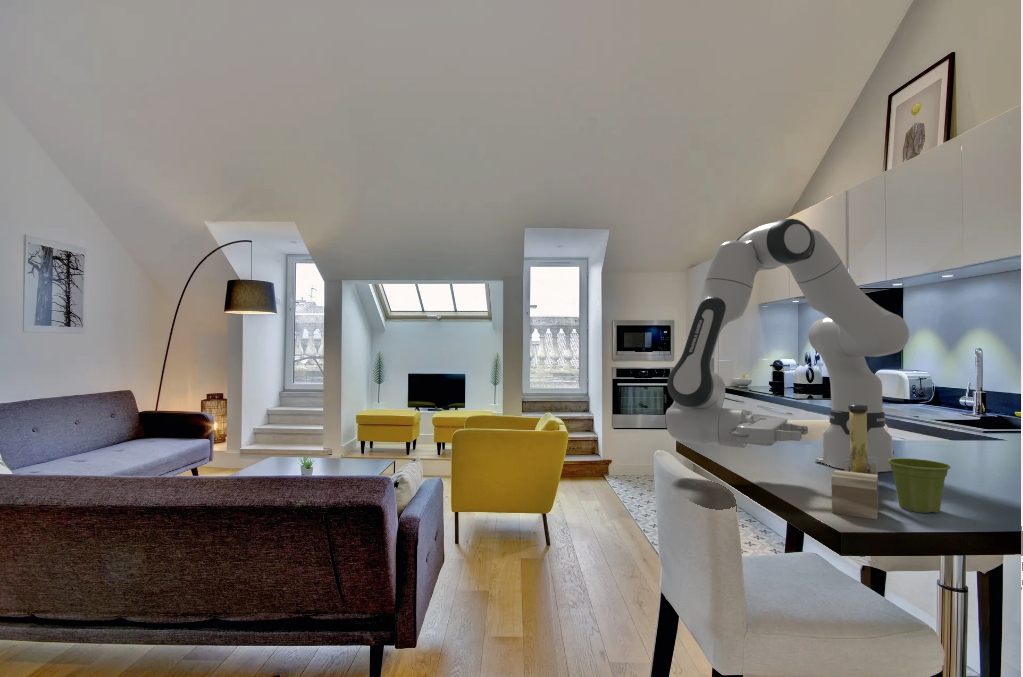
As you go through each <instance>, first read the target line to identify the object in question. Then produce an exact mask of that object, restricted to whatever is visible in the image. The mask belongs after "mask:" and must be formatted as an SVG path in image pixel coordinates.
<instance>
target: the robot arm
mask: <svg viewBox="0 0 1023 677" xmlns="http://www.w3.org/2000/svg"><path fill="white" fill-rule="evenodd" d="M782 266H785V267H787V268H788V269H789V271H790V273H791V275H792V277H793V280H795V282H796V284H797V285H798V288H799V289H800V290H801V293H802V294H803V296H804V298H805V300H806V301H807V303H808V304H809V306H810V307H811V308H812V309H813V310H814V311H817V312H819V313H821V314H822V315H824V316H825V317H823V318H819V319H817V320H815V321H814V322H813V323H812V324H811V325H810V328H809V330H808V341H809V344H810V346H811V347H812V349H814V351H816V352H817V353H818V354H819V356H820V357H821V359H822V361H823V364H824V365H825V368H826V370H827V373H828V377H829V383H830V402H831V403H830V405H831V408H830V410H829V414H828V418H829V421H828V422H829V423H830V424H829V425H828V427H827V428H826V429H825V430H823V431H822V455H820V456H817V457H815V458H814V462H815V461H817V462H821V463H820V464H822V463H825V464H824V465H826V464H827V466H829V465H830V467H833V468H837V469H842V470H845V469H844V461H845V459H846V457H847V455H848V454H850V420H849V410H848V405H867V406H868V411H867V456H874V457H877V459H878V473H879V472H880V473H881V472H893V471H892V469H891V465H890V463H889V462H888V459H893V458H894V454H895V451H894V449H893V436H892V435H891V434H890V433H889V432H887V430H886V429H885V426H886V416H885V415H886V414H885V412H884V411H883V383H882V380H881V379H880V377H879V376H877V375H876V374H875V373H874V372H872V370H871V369H870V367H869V366H868V363H867V361H866V357H870V358H871V357H875V358H877V357H883V356H889V355H892V354H896V353H899V352H901V351H902V350H903V349H904V348H905V347H906V345H907V344H908V341H909V337H910V331H909V326H908V324H907V322H906V320H904V319H903V317H901V316H900V315H898V314H895V313H893V312H891V311H889V310H887V309H885V308H883V307H882V306H880V305H879V304H877V303H876V302H874V301H873V300H872V298H870V297H869V296H868V295H866V293H864V292H863V290H862V289H860V287H859V286H858V285H857V283H856V282H855V281H854V279H853V277H852V276H851V275H850V274H851V273H849V271H848V269H847V268H846V266H845V264H844V263H843V261H842V259H841V257H840V255H839V254H838V253H837V251H836V250H835V249H834V247H833V245H832V244H831V243H830V241H828V240H827V238H826V237H825V236H824V235H823V234H822V233H821V232H820V231H819V230H816V229H812V228H810V227H809V226H808V225H807V224H806V223H805V222H804V221H802V220H800V219H796V218H783V219H779V220H777V221H773V222H769V223H768V222H767V223H764V224H762V225H760V226H758V227H756V228H754V229H751V230H748V231H745V232H743V233H742V234H741V235H739V236H738V237H737V238H736V239H735V240H728V241H725V242H723V243H721V244H720V245H719V246H718V247H717V249H716V251H715V253H714V255H713V257H712V258H711V261H710V264H709V267H708V270H707V272H706V276H705V280H704V283H703V288H702V292H701V296H700V300H699V304H698V307H697V310H696V313H695V316H694V318H693V322H692V324H691V328H690V331H689V333H688V336H687V340H686V343H685V345H684V349H683V352H682V354H681V356H680V359H679V360H678V361H677V363H675V365H674V366H673V368H672V369H671V371H670V373H669V375H668V378H667V383H666V387H667V392H668V394H669V396H670V398H671V399H672V400H673V403H672V404H671V405H670V407H668V408H667V409H666V411H665V416H664V417H665V418H664V421H665V426H666V427H665V428H666V429H667V432H668V434H669V435H670V436H671V437H672V439H674V440H676V441H680V442H684V443H689V444H694V445H709V444H713V445H717V446H719V447H727V448H737V449H745V448H746V447H747V444H749V445H755V446H764V447H765V446H766V447H768V446H773V445H775V443H777V442H787V441H788V442H789V441H795V442H799V441H801V440H802V438H803V437H802V436H803V435H804V436H805V435H807V434H808V433H809V427H808V426H807V425H799V424H794V423H789V420H788V419H787V418H785V417H781V416H780V417H779V416H774V415H768V414H759V413H753V411H752V410H746V409H744V408H729V407H728V408H727V407H726V408H725V407H723V405H724V403H725V402H724V401H725V397H726V385H725V381H724V379H723V378H722V377H721V376H720V375H719V374H718V373H716V372H714V371H712V368H711V365H712V364H711V362H712V360H713V356H714V352H715V350H716V347H717V343H718V340H719V337H720V334H721V332H722V330H723V329H724V328H725V327H726V326H727V325H728V324H730V323H731V322H734V321H737V320H738V319H739V318H741V317H742V316H743V315H744V313H745V311H746V309H747V307H748V304H749V303H750V299H751V298H752V297H751V296H752V291H753V288H754V284H755V278H756V275H757V273H758V272H759V271H767V270H773V269H777V268H780V267H782ZM817 462H816V463H817Z"/></svg>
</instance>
